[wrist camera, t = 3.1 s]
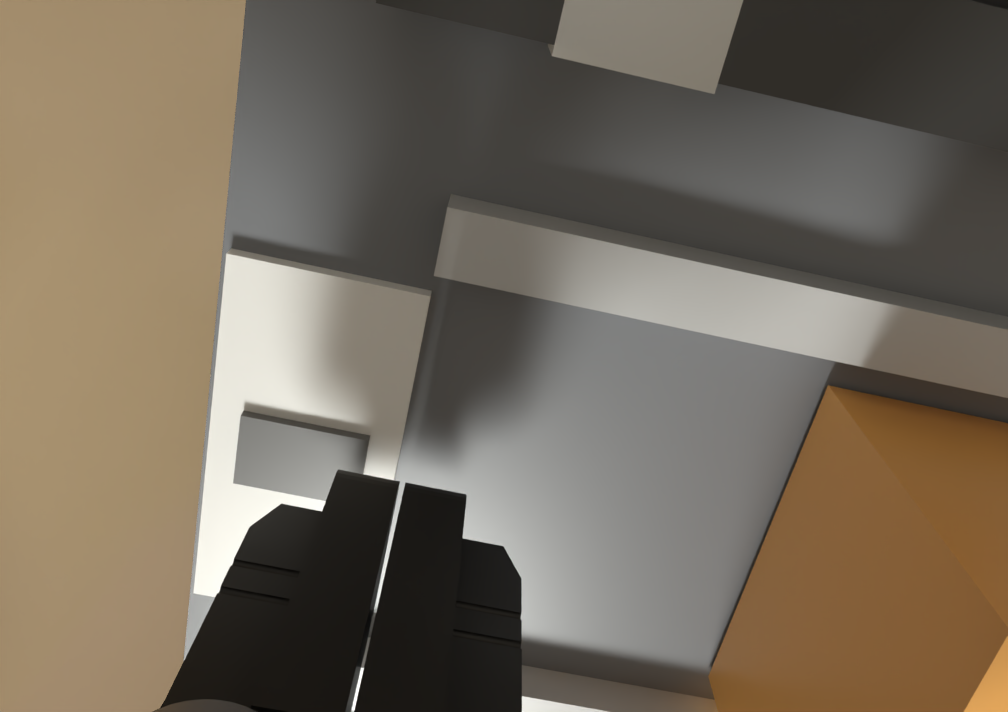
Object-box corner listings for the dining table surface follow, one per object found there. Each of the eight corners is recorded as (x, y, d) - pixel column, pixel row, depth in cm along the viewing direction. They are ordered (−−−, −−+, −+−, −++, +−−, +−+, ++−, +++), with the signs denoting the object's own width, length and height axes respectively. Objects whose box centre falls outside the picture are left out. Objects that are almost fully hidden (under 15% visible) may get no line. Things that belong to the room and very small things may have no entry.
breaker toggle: (828, 385, 11) (1068, 710, 6) (1053, 433, 11) (1455, 781, 6) (708, 676, 13) (822, 1096, 8) (903, 711, 13) (1125, 1140, 8)
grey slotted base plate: (457, -248, 10) (428, -351, 7) (1576, 41, 12) (2011, 73, 8) (290, 751, 17) (234, 945, 14) (1013, 874, 18) (1127, 1081, 15)
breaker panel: (367, -584, 9) (302, -825, 6) (1843, -161, 11) (2322, -207, 8) (201, 833, 18) (142, 994, 15) (1023, 966, 19) (1110, 1137, 17)
